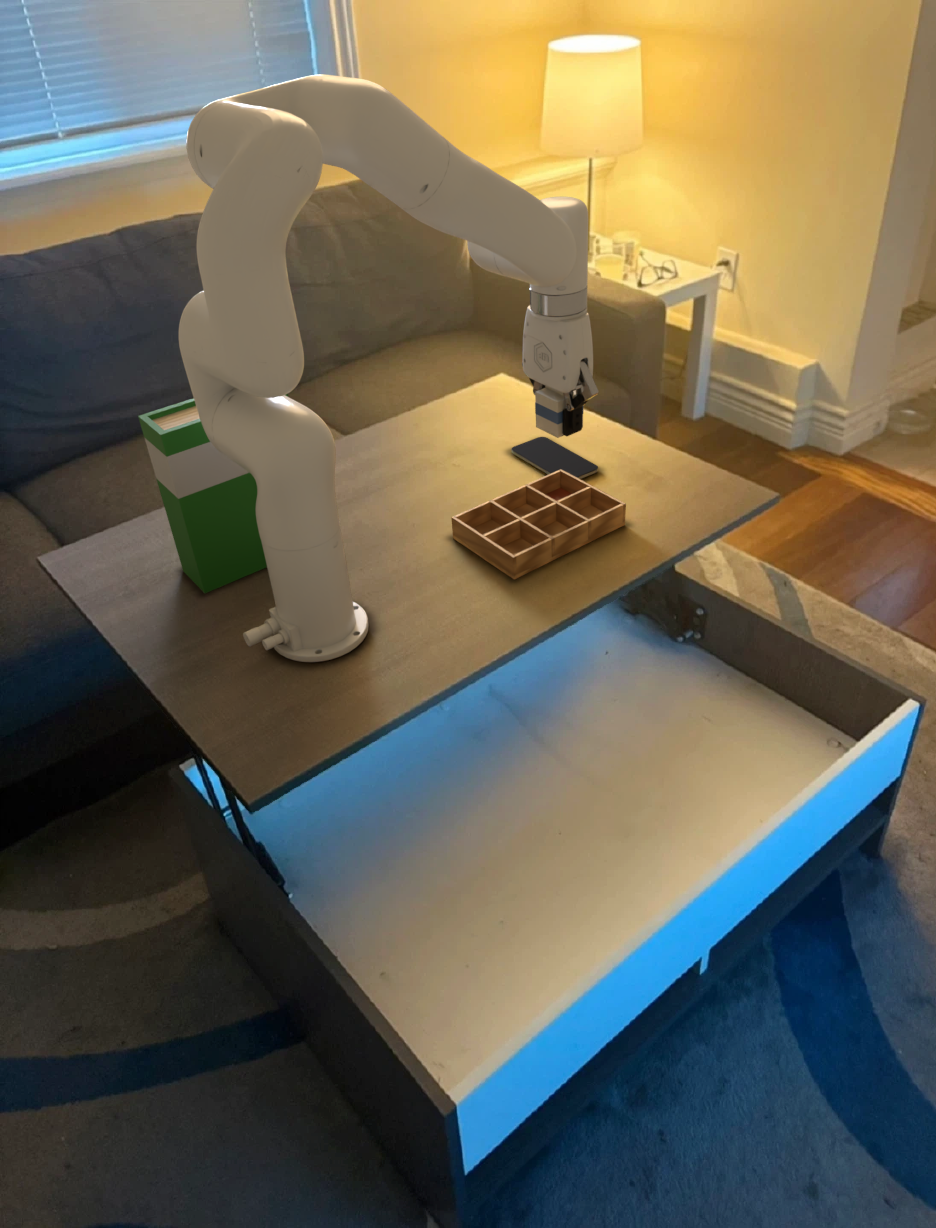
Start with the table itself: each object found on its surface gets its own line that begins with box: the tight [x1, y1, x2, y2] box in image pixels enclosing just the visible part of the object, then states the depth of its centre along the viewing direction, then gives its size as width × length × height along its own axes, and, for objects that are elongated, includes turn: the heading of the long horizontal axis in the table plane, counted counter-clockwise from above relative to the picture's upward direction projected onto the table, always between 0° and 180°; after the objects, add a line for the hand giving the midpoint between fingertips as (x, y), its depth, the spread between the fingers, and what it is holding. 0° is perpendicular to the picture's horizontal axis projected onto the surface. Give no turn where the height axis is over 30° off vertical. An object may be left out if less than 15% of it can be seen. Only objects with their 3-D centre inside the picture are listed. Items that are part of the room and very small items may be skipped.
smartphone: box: [511, 436, 599, 480], centre depth 155 cm, size 7×1×15 cm
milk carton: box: [534, 385, 585, 439], centre depth 134 cm, size 5×5×6 cm
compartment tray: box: [450, 469, 627, 581], centre depth 137 cm, size 21×14×4 cm
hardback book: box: [137, 393, 289, 594], centre depth 130 cm, size 18×7×24 cm, turn 127°
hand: (559, 425), depth 136 cm, fingers closed on milk carton, 4 cm apart
